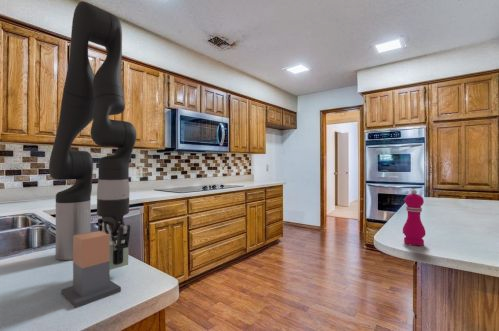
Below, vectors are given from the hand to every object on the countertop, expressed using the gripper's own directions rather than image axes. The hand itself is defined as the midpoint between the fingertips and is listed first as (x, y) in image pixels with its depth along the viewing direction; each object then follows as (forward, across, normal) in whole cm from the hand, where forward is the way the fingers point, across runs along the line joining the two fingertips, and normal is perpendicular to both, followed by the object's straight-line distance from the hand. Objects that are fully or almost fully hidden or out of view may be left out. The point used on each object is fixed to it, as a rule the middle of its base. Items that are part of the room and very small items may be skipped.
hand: (112, 260), depth 70 cm
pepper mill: (+3, -56, -84) cm, 101 cm away
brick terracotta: (-3, -6, +7) cm, 10 cm away
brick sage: (+1, 0, 0) cm, 1 cm away
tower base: (+4, -6, +7) cm, 10 cm away
